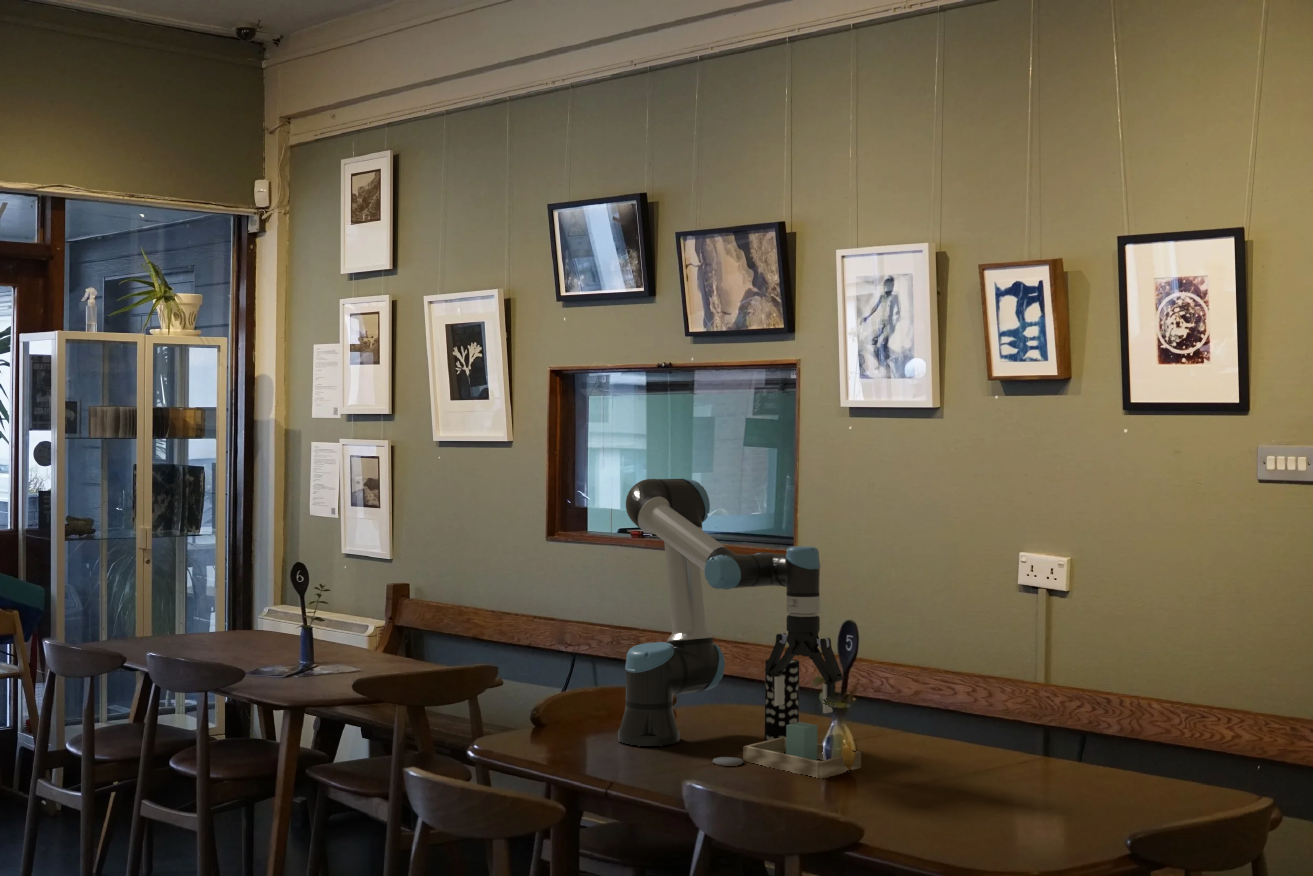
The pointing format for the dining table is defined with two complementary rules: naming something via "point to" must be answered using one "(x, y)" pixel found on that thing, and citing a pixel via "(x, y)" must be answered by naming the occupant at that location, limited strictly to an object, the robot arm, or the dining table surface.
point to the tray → (795, 759)
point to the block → (801, 740)
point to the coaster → (727, 761)
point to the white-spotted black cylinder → (789, 710)
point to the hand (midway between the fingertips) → (803, 708)
